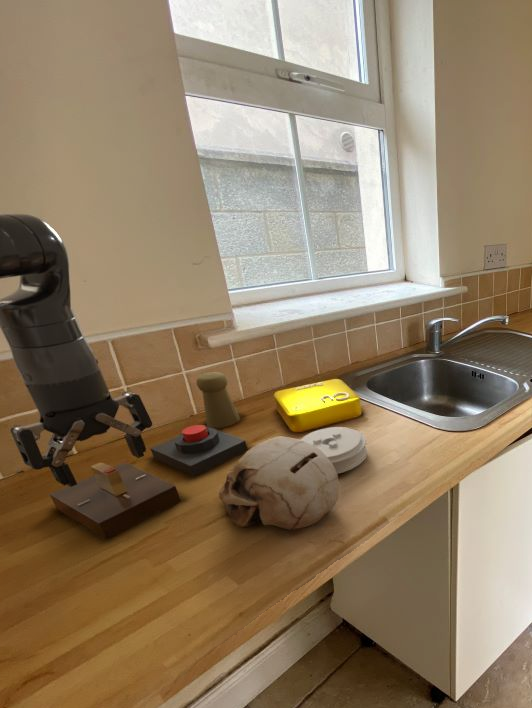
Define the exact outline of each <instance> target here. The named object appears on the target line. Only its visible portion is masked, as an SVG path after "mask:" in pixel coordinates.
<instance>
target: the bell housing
mask: <svg viewBox="0 0 532 708" xmlns="http://www.w3.org/2000/svg"><path fill="white" fill-rule="evenodd" d="M204 426H205V427H206V429H207V433H208V436H207V437H206V438H204V439H202V440H198V441H193V442H186V441H185V439H184V437H183V434H182V432H181V433H180V434H179V435H177V436H176V437H174V438H172V439H169V440H167V441H165V442H162V443H160V444H157V445H155V446H152V447H150V451H151V455H152V456H153V459H155V460H157V461H160V462H161V463H164V464H166V465H167V466H170V467H173V468H176V469H177V470H179V471H181V472H184V473H186V474H188V475H191V476H193V477H196V476H198V475H200V474H202V473H204V472H205V471H208V470H210V469H212V468H215V467H217V466H218V465H220V464H222V463H224V462H226V461H229V460H230V459H232V458H235V457H237V456H238V455H241V454H242V453H246V452H247V451H248V450H249V449H248V445H247V442H246V440H245V439H243V438H240V437H238V436H234V435H232V434H229V433H227V432H224V431H222V430H219V429H217V428H211V427H208V426H207V425H204Z"/></svg>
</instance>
